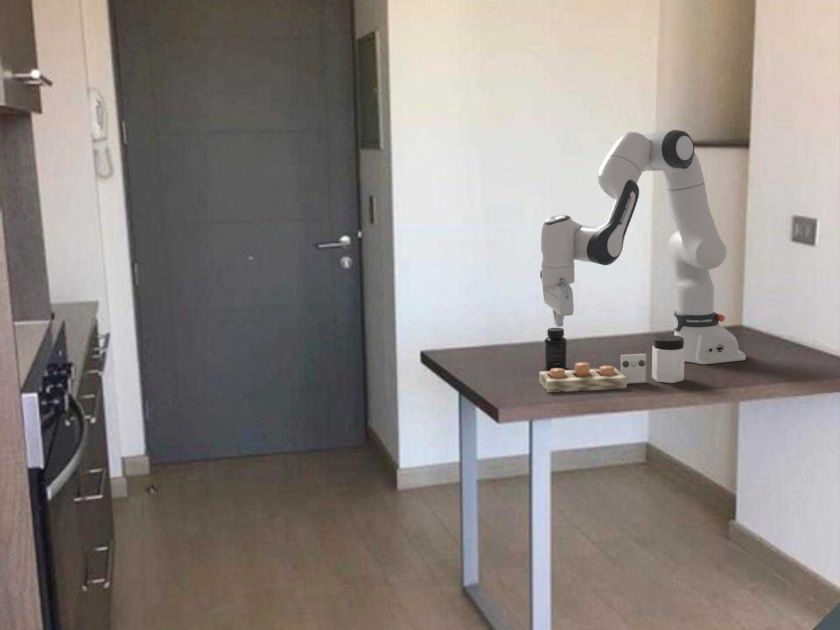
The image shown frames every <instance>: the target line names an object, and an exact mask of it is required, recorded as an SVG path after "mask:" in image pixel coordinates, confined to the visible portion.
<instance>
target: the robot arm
mask: <svg viewBox="0 0 840 630" xmlns="http://www.w3.org/2000/svg"><path fill="white" fill-rule="evenodd" d="M699 160H700V159H699V158H698V155H697V153H696V152H695V144H694V141H693V139H692V137H691V135H690V134H689V132H686V131H683V130H679V129H673V130H660V131H659V130H658V131H654V132H651V133H645V134H642V133H639V132H637V131H630V132H629V131H628V132H626V133H623V135H621V137H620V138H618V140H617V141H616V142H615V144H613V146H612V147H611V149H610V150H609V152H608V153H607V155H606V156H605V158H604V160H603V162H602V164H601V165H600V167H599V170H598V173H597V181H598V184H599V186H600V188H601V190H603V192H604V193H605V194H606V195H607V196H608V197H610V198H611V199H613V200H614V203H613V206H612V209H611V212H610V214H609V216H608V220H607V222H606V223H605V224H602V225H601V226H589V225H583V224H581V223H577V222H576V221H574V220H573V219H572V217H571V216H570V215H565V214H561V215H553V216H549V217H548V218H547V219H545V220H544V222H543V224H542V228H541V237H540V239H541V240H540V245H541V246H540V249H541V250H540V251H541V253H542V254H541V255H542V261H541V270H540V272H539V276H540V280H541V283H542V285H541V286H542V293H543V299H544V300H543V301H544V303H545V304H546V305H547V306H548V307H550V308H551V309H552V314H553V315H552V316H553V318H554V319H553V323H554V325H555V326H556V328H562V327H563V326H564V319H565V317H567V316H569V317H570V316H573V315H574V309H575V308H574V293H573V289H572V286H571V284H573V283H575V261H581V262H586V263H587V262H588V263H594V264H598V265H602V266H610V265H611V264H613V263H614V262H616V260H618V259H619V258H620V256H621V254H622V251H623V248H624V243H625V236H626V234H627V231H628V229H629V226H630V223H631V220H632V218H633V215H634V212H635V210H636V207H637V203H638V202H639V196H640V188H639V186H638V182H639V180H640V178H641V176H642V173H643V172H645V171H648V172H649V171H651V172H653V171H656V172H657V171H659V172H660V171H662V172H663V173H664V181H665V189H666V194H667V200H668V206H669V207H668V208H669V212H670V215H671V218H672V219H673V221H674V223H675V226H676V227H677V230H676V231H675V232H674V233H672V235H671V236H670V238H669V240H668V242H667V249H668V251H669V253H670V256H671V262H672V268H673V274H674V279H675V290H676V292H675V311H674V314H673V330H674V334H673V335H676V336H680V337H683V339H684V345H683V348H685V358H684V363H685V362H686V363H694V364H699V365H709V364H712V365H713V364H719V363H730V362H738V361H739V362H740V361H745V360H746V359H747V355H746V354H745V353H744V352H743V351H741V350H739V343H738V340H737V337H736V336H735V335H734V334H733V333H731V332H730V331H729V330H727V329H726V328H725V327H724V326H723V325H721V324H720V322H721V323H723V322H725V320H726V317H725V315H723V314H721V313H717V312H715V311H714V308H715V307H714V305H715V304H714V303H715V287H714V286H715V285H714V284H713V281H712V278H711V275H710V270H714V269H717V268H718V267H720V266H721V265H722V264H723V263H724V262H725V260H726V257H727V247H726V245H725V243H724V242H723V240H722V238H721V236H720V235H719V231H718V228H717V226H716V223H715V221H714V218H713V215H712V213H711V210H710V207H709V206H710V205H709V201H708V200H709V199H708V194H707V190H706V189H707V188H706V183H705V177H704V174H703V170H702V166H701V163H700V161H699Z"/></svg>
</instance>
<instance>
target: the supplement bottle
mask: <svg viewBox="0 0 840 630" xmlns="http://www.w3.org/2000/svg"><path fill="white" fill-rule="evenodd" d="M564 330H565V329H564V328H562V327H549V328H547V331H546V332H547V334H546V336H547V337H546V338H545V339H544V341H543V349H544V350H543V351H544V352H543V354H544V355H543V356H544V357H543V358H544V359H543V360H544V361H543V362H544V363H543V365H544V368H545V370H546V371H550V369H553V368H562V369H565V370H567V368H568V340H567V338H566V337H564V336H565V331H564Z"/></svg>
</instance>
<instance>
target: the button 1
mask: <svg viewBox="0 0 840 630" xmlns="http://www.w3.org/2000/svg"><path fill="white" fill-rule="evenodd" d="M565 370H566V369H562V368H553V369H550V370H549V371H550V378H551V379H553V378H565Z"/></svg>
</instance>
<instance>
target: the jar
mask: <svg viewBox="0 0 840 630" xmlns="http://www.w3.org/2000/svg"><path fill="white" fill-rule="evenodd" d="M683 345H684V339H683V337H680V336H676V335H674V334H660V335H656V336H654V337H653V345H652V350H651V351H652V353H651V378H652V379H653V380H655V382H656V383H668V384H675V383H678V382H683V381H684V380H685V361H684V358H685V348H683Z"/></svg>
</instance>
